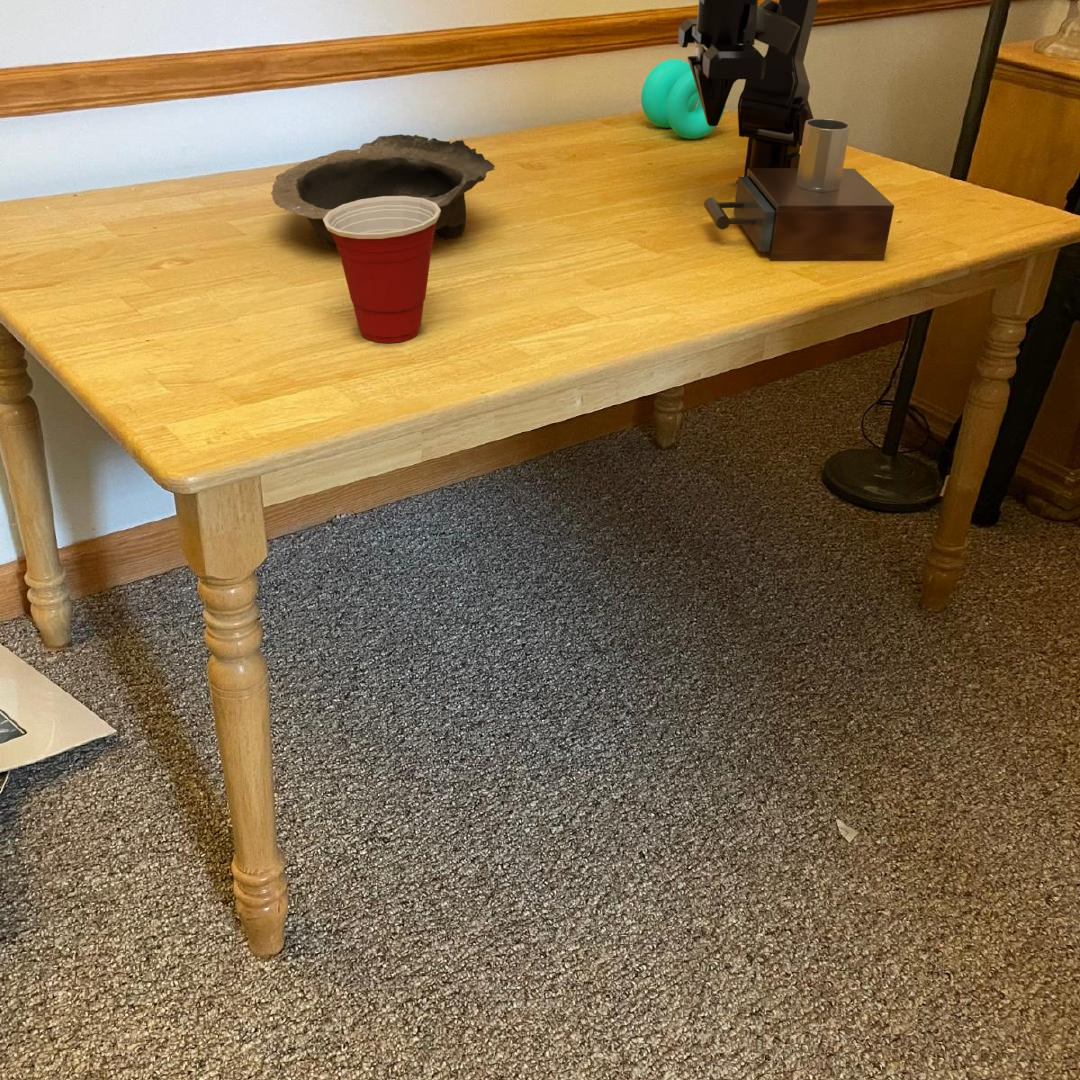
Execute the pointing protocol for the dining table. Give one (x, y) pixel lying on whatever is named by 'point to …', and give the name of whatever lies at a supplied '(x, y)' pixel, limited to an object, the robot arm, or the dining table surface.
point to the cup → (822, 155)
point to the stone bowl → (385, 179)
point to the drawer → (746, 213)
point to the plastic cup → (386, 261)
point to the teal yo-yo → (674, 100)
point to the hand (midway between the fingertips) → (712, 125)
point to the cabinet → (824, 217)
